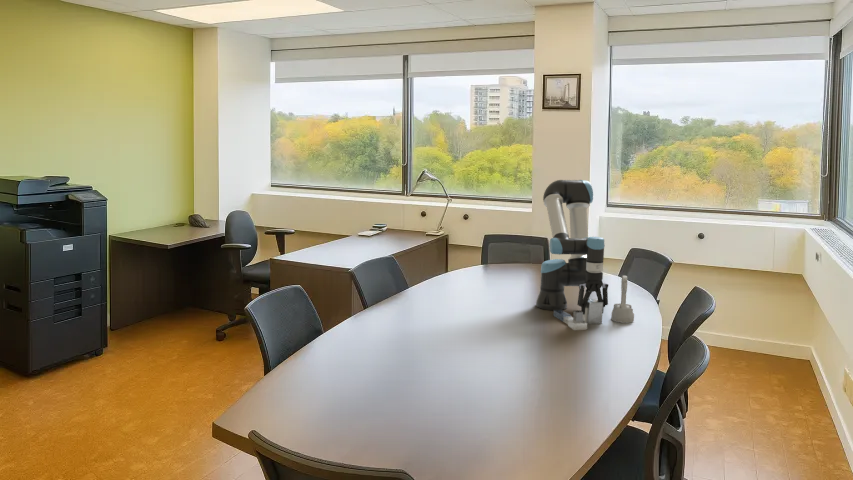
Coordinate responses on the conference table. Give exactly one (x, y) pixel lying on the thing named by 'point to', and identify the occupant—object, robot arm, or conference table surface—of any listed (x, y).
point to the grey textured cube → (594, 311)
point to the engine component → (623, 306)
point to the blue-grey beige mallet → (572, 319)
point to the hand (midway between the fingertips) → (591, 320)
